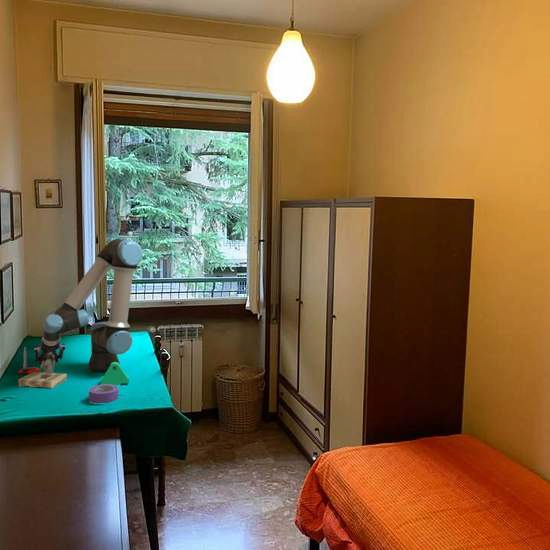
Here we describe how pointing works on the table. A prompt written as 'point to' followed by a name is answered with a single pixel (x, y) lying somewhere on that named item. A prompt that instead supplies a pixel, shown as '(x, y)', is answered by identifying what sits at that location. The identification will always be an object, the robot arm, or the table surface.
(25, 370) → the tow hook
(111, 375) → the green triangle
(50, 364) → the domed cap cylinder
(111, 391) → the tape roll
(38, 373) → the jig
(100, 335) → the robot arm
